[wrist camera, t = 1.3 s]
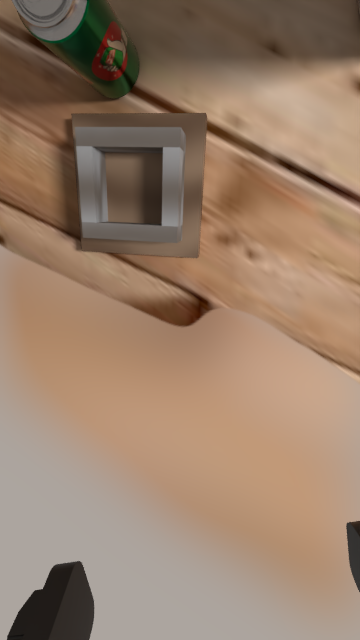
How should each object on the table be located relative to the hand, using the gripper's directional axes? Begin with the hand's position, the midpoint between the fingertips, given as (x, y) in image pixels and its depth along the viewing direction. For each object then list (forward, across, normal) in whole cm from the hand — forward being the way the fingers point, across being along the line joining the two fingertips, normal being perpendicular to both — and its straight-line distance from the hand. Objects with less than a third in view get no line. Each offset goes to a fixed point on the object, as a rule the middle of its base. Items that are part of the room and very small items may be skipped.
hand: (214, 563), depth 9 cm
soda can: (+26, +2, -27) cm, 38 cm away
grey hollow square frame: (+27, +2, -16) cm, 31 cm away
